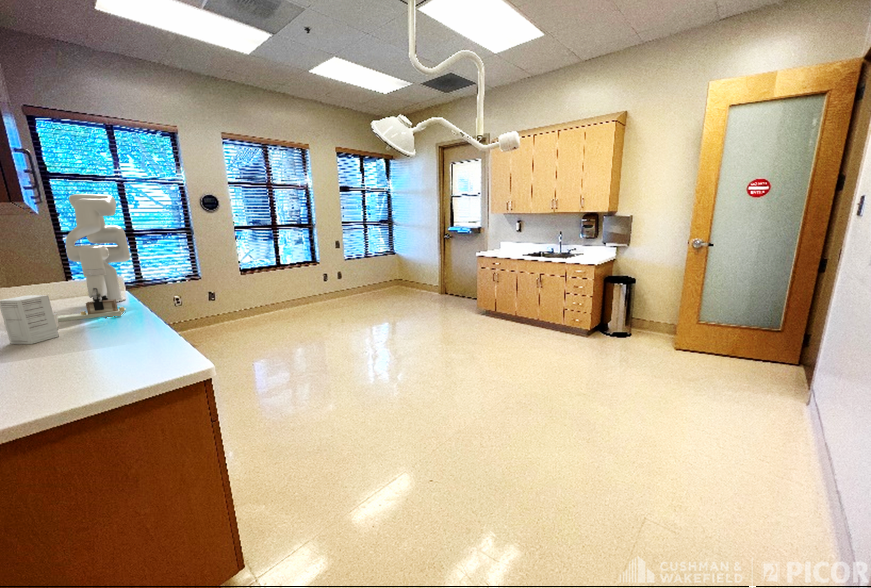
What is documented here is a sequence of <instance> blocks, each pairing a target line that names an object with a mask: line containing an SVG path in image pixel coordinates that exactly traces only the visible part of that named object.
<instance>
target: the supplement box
mask: <svg viewBox="0 0 871 588" xmlns="http://www.w3.org/2000/svg"><path fill="white" fill-rule="evenodd" d="M53 313H54V312H53V307H52V305H51V300H50V295H48V294H47V295H46V294H42V295H41V294H40V295H39V294H38V295H34V294H33V295H31V294H29V295H21V296H16V297H9V298H5V299H0V314H1V315H2V319H3V323H4V326H5V330H6V333H7V337H8V340H9V344H11V345H14V344H15V345H32V344H36V343H39V342H40V343H41V342H43V341H48V340H51V339H55V338H57V337H58V336H60V334H59V330H57V329H58V327H57V326H56V323H55V319H54V315H53Z"/></svg>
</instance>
